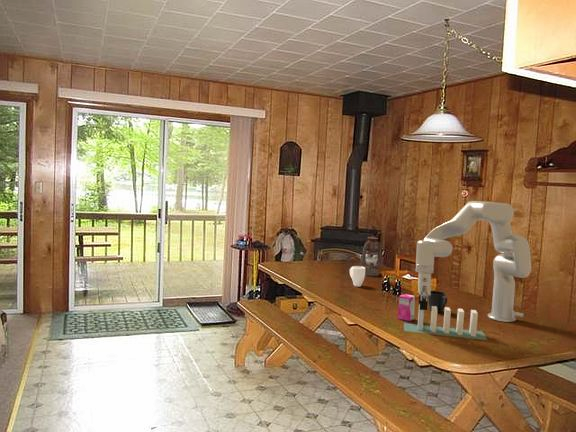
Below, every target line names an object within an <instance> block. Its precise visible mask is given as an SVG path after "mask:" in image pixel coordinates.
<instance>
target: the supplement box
mask: <svg viewBox="0 0 576 432" xmlns="http://www.w3.org/2000/svg"><path fill="white" fill-rule="evenodd" d="M415 304H416V296H415V295H412V294H411V295H410V294H407V293H404V294H401V295H398V306H397V307H398V308H397V309H398V311H397V320H400V321H405V322H407V323H408V322H412V321H414V320H415Z"/></svg>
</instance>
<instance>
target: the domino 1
mask: <svg viewBox="0 0 576 432" xmlns="http://www.w3.org/2000/svg"><path fill="white" fill-rule="evenodd" d="M424 315H425V310H420V304H418V313H417V324H418V330H421V331H423V325H424V319H425V318H424Z"/></svg>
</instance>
